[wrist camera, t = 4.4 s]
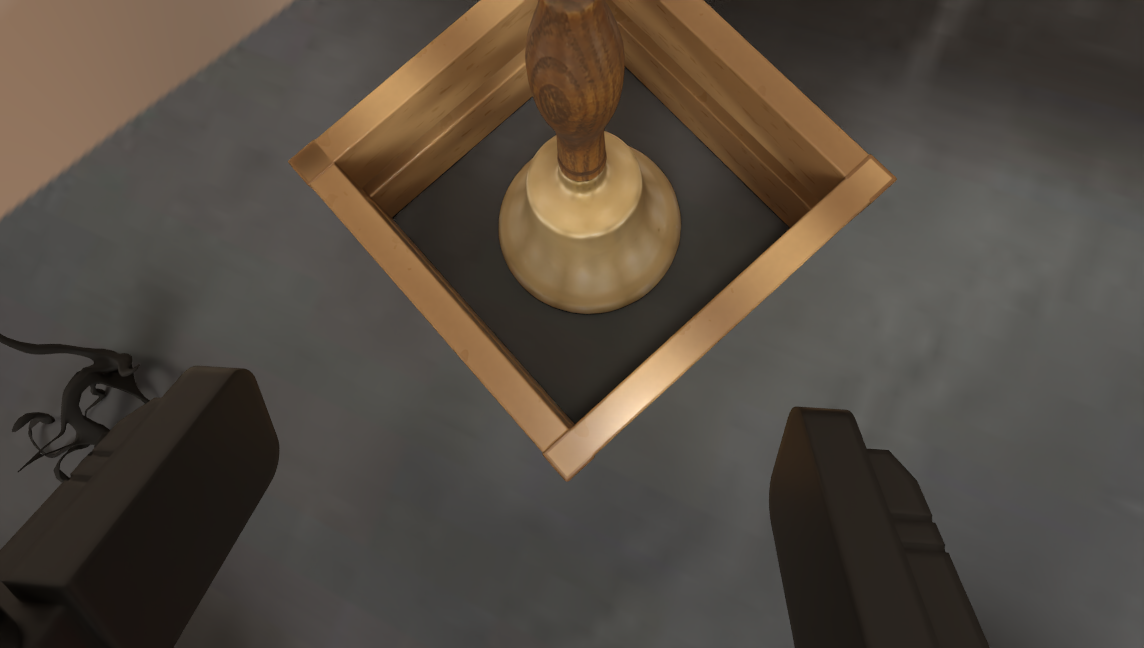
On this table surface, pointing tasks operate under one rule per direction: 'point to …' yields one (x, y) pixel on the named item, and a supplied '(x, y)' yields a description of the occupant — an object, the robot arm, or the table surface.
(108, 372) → the creature
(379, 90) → the frame
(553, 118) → the hand bell
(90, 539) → the robot arm
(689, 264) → the table surface
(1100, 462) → the table surface
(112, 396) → the table surface
